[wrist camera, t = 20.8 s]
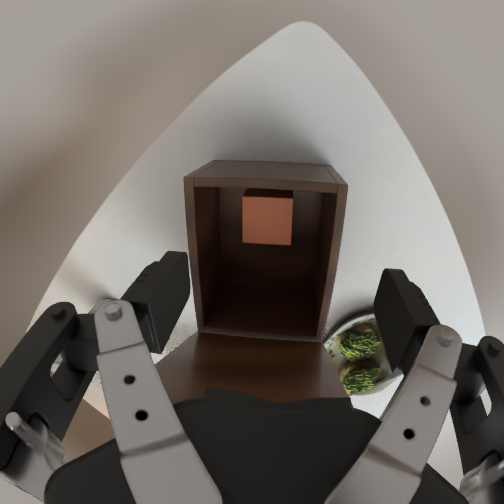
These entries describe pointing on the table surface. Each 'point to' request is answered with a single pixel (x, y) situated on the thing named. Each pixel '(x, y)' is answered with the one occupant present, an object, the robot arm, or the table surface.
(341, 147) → the table surface
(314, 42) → the table surface
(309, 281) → the box
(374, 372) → the avocado toast plate
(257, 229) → the block
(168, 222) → the table surface
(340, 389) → the lid
